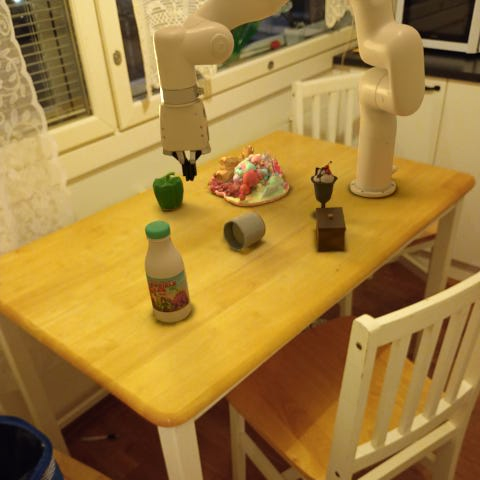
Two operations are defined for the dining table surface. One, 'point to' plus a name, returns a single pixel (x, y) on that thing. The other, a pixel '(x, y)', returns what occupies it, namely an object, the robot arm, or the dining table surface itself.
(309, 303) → the dining table surface
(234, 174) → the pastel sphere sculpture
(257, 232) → the ceramic mug
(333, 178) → the sundae
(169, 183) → the bell pepper
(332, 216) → the tea box
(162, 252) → the milk bottle
